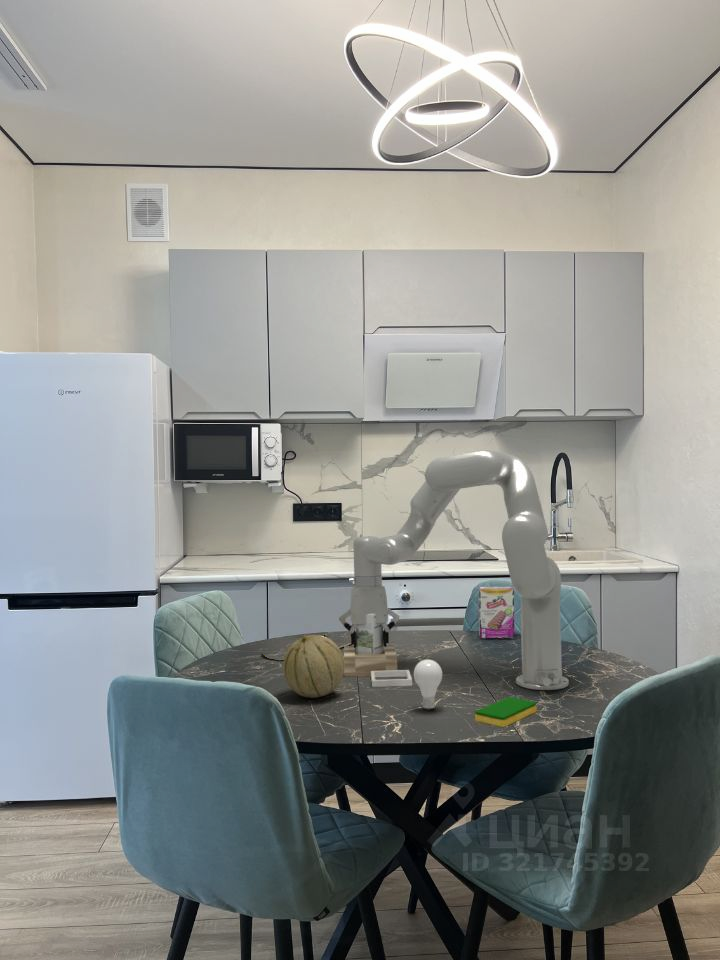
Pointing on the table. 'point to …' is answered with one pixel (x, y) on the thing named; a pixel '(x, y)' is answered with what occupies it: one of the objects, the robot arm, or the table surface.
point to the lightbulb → (428, 681)
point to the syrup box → (369, 637)
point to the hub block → (369, 661)
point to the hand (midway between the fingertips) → (369, 646)
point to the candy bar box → (496, 612)
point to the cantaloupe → (313, 666)
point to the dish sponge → (505, 711)
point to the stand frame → (392, 681)
